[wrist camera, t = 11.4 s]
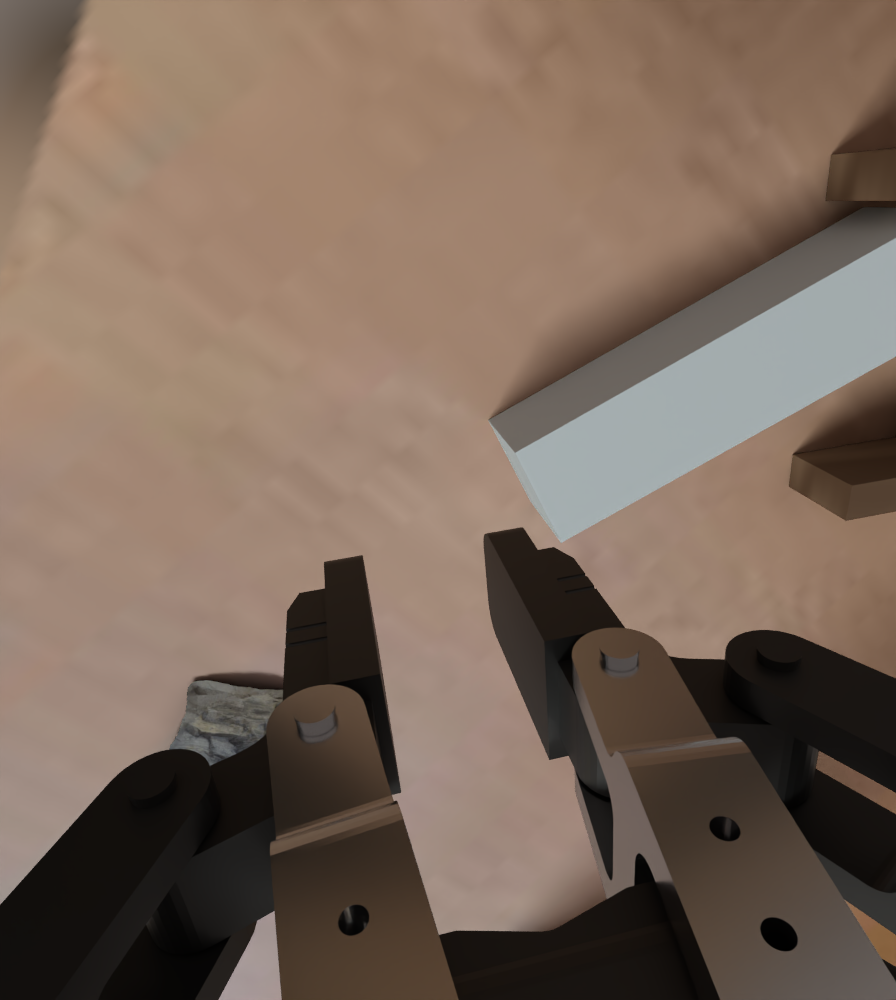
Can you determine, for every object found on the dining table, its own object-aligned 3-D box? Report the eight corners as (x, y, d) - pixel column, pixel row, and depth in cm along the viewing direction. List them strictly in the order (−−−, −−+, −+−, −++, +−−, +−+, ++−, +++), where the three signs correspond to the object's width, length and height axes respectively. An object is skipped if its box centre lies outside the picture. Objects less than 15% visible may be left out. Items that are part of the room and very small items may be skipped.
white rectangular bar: (876, 303, 27) (963, 318, 24) (528, 498, 28) (561, 542, 24) (857, 206, 25) (948, 208, 22) (486, 417, 26) (515, 452, 22)
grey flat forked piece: (204, 648, 28) (196, 681, 26) (352, 693, 30) (354, 726, 29) (49, 962, 34) (34, 1008, 32) (183, 980, 36) (176, 1023, 34)
